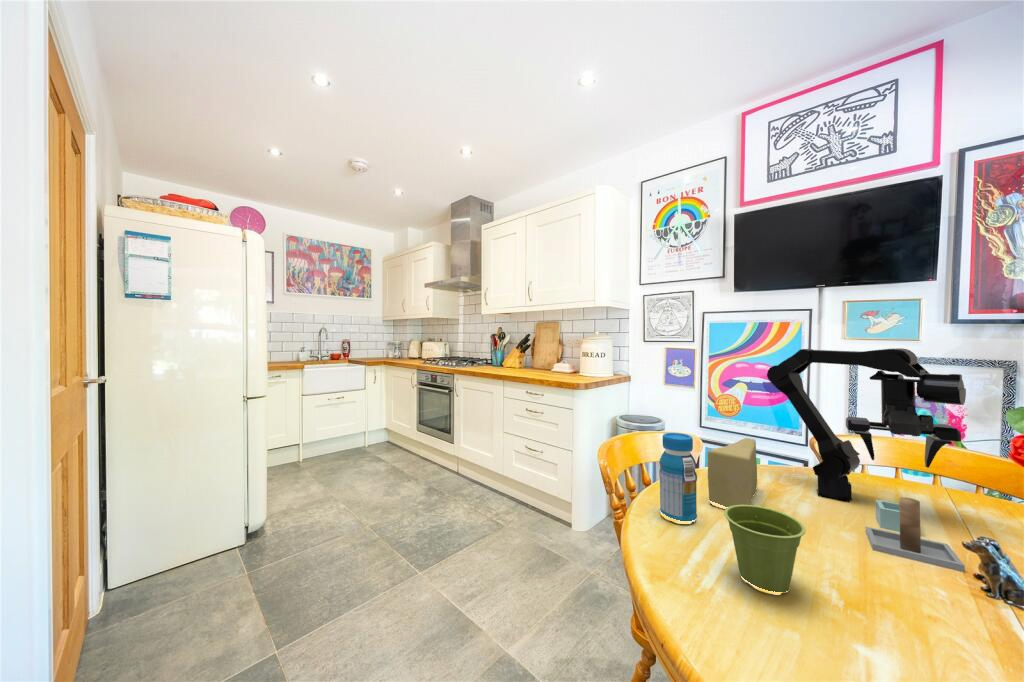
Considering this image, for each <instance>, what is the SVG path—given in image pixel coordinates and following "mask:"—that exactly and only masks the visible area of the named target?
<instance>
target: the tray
mask: <svg viewBox="0 0 1024 682" xmlns="http://www.w3.org/2000/svg"><path fill="white" fill-rule="evenodd" d="M865 535H866V537H867V539H868V542H869V544H870V546H871V549H872V551H875V552H880V553H883V554H887V555H890V556H894V557H900V558H904V559H908V560H913V561H917V562H920V563H923V564H929V565H933V566H936V567H941V568H945V569H948V570H953V571H957V572H960V573H966V566H965V564H964V562H962V560H961V559H960V557H958V555H957V554H956V553H955V551H954V549H952V547H951V546H950V545H949V544H948V543H944V542H940V541H935V540H930V539H926V538H921V537H920V539H921V553H916V552H912V551H907V550H903V549H901V548H900V532H898V533H897V532H895V531H890V530H886V529H881V528H874V527H870V526H865Z"/></svg>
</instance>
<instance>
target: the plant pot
mask: <svg viewBox="0 0 1024 682" xmlns="http://www.w3.org/2000/svg"><path fill="white" fill-rule="evenodd" d="M723 511H724V512H723V513H724V514H723V516H724V517H725V519H727V521H728V522H727V523H728V525H729V530H730V532H731V534H732V535H731V536H732V541H733V545H734V550H735V555H736V562H737V565H738V572H739V575H740V574H741V576H742V577H743V578H744V579H745V580H747V581H748V582H750V583H751V584H753V585H755V586H757V587H759V588H762V589H765V590H768V591H773V592H774V591H775V592H786V591H788V590H789V591H790V589H789V588H791V583H792V577H793V571H794V566H795V562H796V555H797V551H798V547H799V546H800V543H801V538H802V537H803V536H804V535H805V534H806V531H807V529H806V527H805V524H803V523H802V522H801V521H799V520H798V519H796V517H794V516H791V515H789V514H787V513H786V512H785V513H784V512H783V511H779V510H777V509H772V508H770V507H765V506H761V505H753V504H751V505H734V506H730V507H728V508H726V509H725V510H723ZM741 576H740V577H741ZM789 591H788V592H789Z"/></svg>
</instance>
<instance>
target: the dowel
mask: <svg viewBox="0 0 1024 682" xmlns="http://www.w3.org/2000/svg"><path fill="white" fill-rule="evenodd" d="M898 500H899V502H898V504H899V507H900V532H899V534H900V548H901V549H903V550H907V551H912V552H916V553H921V539H920V538H921V503H920V502H921V501H919V500H917V499H915V498H910V497H904V496H901V497H899V498H898Z"/></svg>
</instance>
